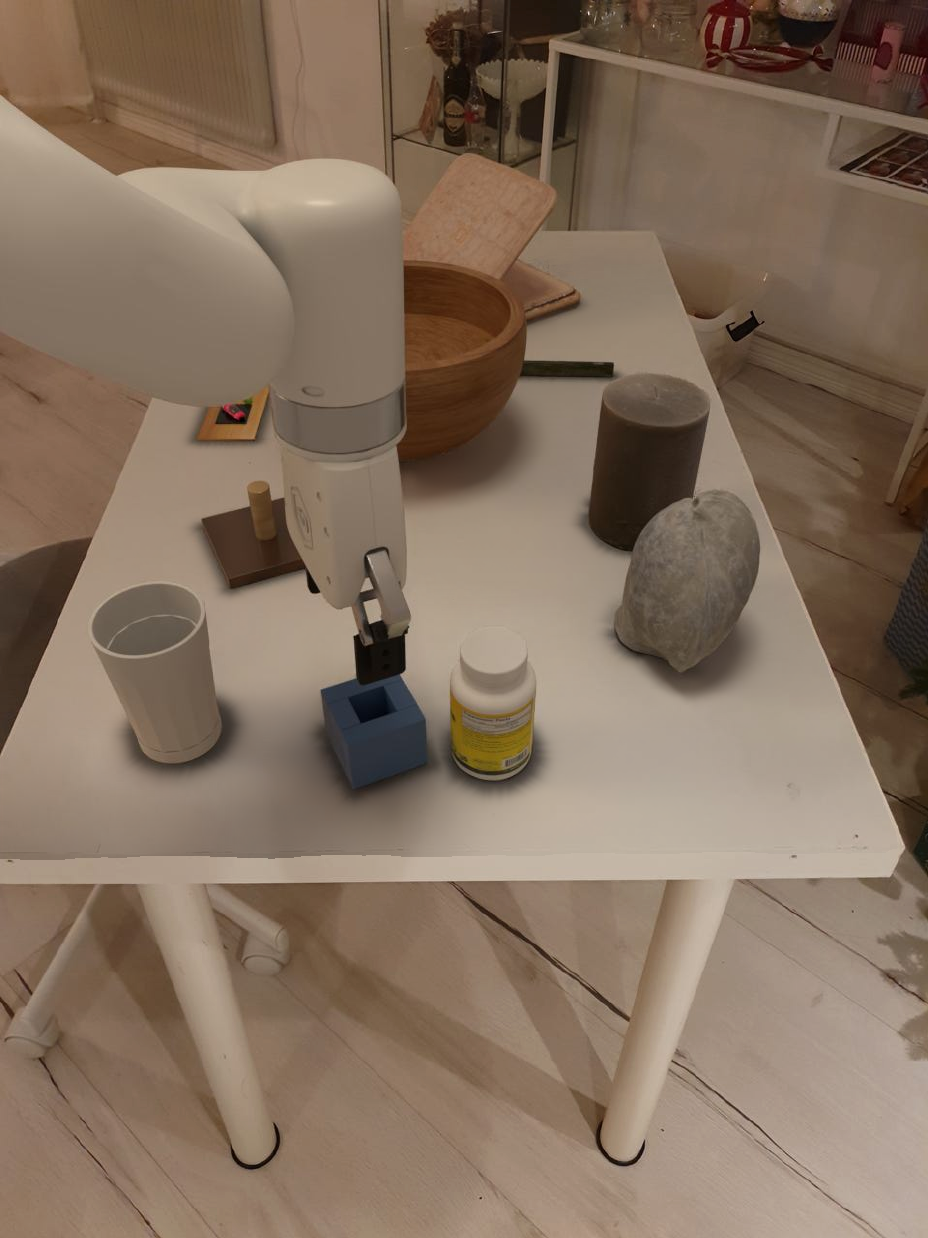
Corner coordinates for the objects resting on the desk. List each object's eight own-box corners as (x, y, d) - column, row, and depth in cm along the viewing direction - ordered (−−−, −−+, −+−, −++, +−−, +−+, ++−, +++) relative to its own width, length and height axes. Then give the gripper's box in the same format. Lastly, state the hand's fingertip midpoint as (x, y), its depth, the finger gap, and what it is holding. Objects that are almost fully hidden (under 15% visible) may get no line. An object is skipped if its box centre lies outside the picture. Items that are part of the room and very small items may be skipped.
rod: (612, 374, 118) (613, 359, 116) (612, 378, 117) (614, 363, 116) (352, 371, 118) (351, 355, 117) (352, 374, 118) (350, 359, 116)
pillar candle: (610, 560, 92) (628, 420, 82) (574, 501, 99) (587, 365, 89) (705, 543, 94) (734, 404, 84) (663, 486, 101) (685, 352, 90)
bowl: (242, 453, 105) (219, 321, 95) (393, 363, 120) (387, 240, 110) (424, 540, 94) (419, 401, 84) (565, 429, 109) (576, 300, 98)
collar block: (353, 790, 72) (347, 746, 69) (326, 733, 76) (319, 689, 73) (427, 763, 74) (426, 719, 70) (397, 709, 78) (394, 665, 74)
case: (375, 291, 135) (367, 169, 124) (495, 255, 144) (498, 138, 133) (463, 348, 123) (463, 218, 112) (588, 304, 132) (599, 180, 121)
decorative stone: (600, 578, 90) (618, 437, 80) (711, 574, 90) (743, 433, 80) (631, 699, 79) (657, 553, 69) (757, 693, 79) (801, 548, 69)
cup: (216, 682, 80) (189, 568, 72) (245, 749, 75) (218, 636, 67) (118, 714, 77) (77, 600, 69) (140, 786, 72) (99, 672, 64)
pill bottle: (466, 712, 78) (466, 609, 70) (541, 732, 76) (549, 629, 69) (438, 771, 73) (436, 667, 66) (517, 793, 72) (524, 690, 64)
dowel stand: (230, 589, 89) (218, 530, 84) (203, 528, 95) (190, 471, 91) (334, 559, 92) (328, 502, 87) (301, 502, 98) (293, 446, 94)
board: (271, 385, 116) (269, 374, 115) (254, 440, 107) (252, 428, 106) (218, 385, 116) (216, 373, 115) (197, 440, 107) (194, 428, 106)
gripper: (231, 349, 59) (264, 569, 71) (326, 502, 48) (346, 735, 59) (348, 328, 62) (361, 544, 73) (465, 468, 50) (459, 698, 62)
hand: (354, 629), depth 66 cm, fingers open, 9 cm apart
